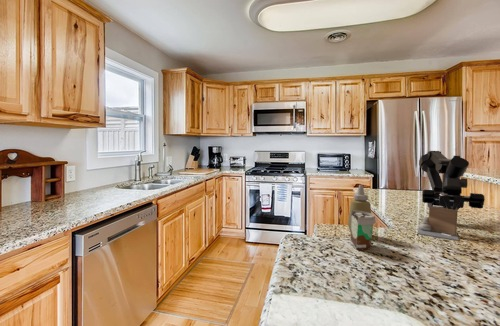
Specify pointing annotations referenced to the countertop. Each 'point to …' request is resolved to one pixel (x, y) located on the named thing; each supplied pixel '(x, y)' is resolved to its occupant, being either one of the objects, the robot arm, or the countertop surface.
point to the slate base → (437, 234)
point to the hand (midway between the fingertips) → (451, 216)
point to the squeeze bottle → (359, 204)
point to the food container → (361, 229)
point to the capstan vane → (441, 220)
